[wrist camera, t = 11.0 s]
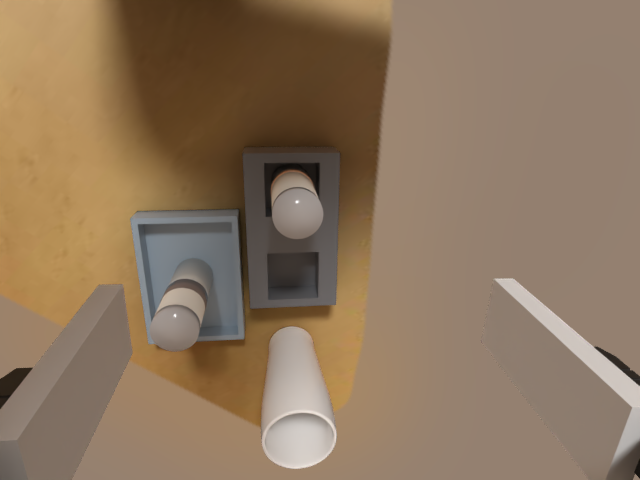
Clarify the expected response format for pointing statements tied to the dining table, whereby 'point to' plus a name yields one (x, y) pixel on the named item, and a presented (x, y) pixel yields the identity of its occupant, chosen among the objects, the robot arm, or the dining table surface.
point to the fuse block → (280, 251)
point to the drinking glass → (296, 403)
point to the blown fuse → (182, 306)
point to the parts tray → (201, 243)
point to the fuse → (295, 202)
